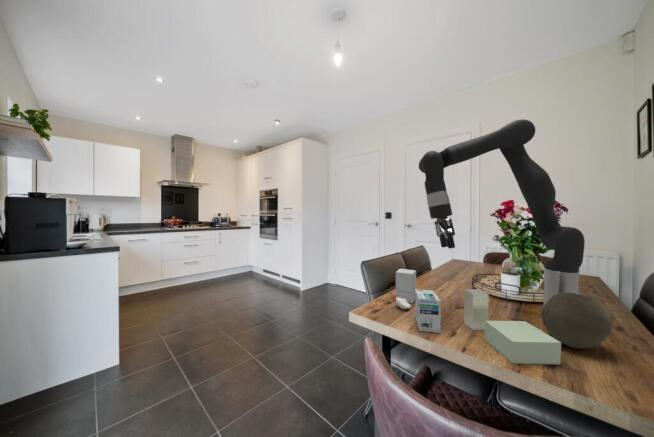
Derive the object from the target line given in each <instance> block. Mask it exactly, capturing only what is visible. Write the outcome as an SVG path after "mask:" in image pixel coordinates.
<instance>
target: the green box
mask: <svg viewBox="0 0 654 437" xmlns="http://www.w3.org/2000/svg"><path fill="white" fill-rule="evenodd" d="M483 338H484V340H485V341H486V342H487V343H489V345H490V346H492V347H493V348H494V350H496V351H498V353H500V354H501V355H502V356H503V357H504V358H506V359H507V361H509V362H510V363H511V364H517V365H518V364H519V365H520V364H521V365H523V364H525V365H561V360H562V359H561V358H562V357H561V356H562V342H560V341H558V340H556V339H555V338H554V337H552V336H551V335H550V334H549V333H545V332H544V331H542V330H541V329H539V328H537V327H536V326H535V325H532V324H530V323H529V322H528V321H525V320H523V321H522V320H488V321H485V330H484V337H483Z"/></svg>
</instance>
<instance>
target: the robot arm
mask: <svg viewBox="0 0 654 437" xmlns="http://www.w3.org/2000/svg"><path fill="white" fill-rule="evenodd" d="M535 134H536V126H535V125H534V123H533V122H532V121H530V120H529V119H516V120H514V121H511V122H510V123H507V124H506V125H504V126H502V127H501V128H499V129H497V130H495V131H492V132H490V133H487V134H484V135H481V136H478V137H475V138H472V139H468V140H466V141H462V142H459V143H456V144H453V145H450V146H448V147H446V148H444V149H443V150H442V151H439V152H438V151H436V150H430V151H428V152H426V153H425V154H424V155H423V156H422V157H421V159H420V160H419V162H418V169H419V171H420V172H422V173H423V174H424V175H425V180H424V190H425V193H426V202H427V206H428V211H429V216H430V219H431V220H432V219H435V220H436V221H434V227H435V231H436V236H437V237H438V238H439V241H440V246H441V248H448V249H455V248H456V245H455V238H454V236H455V235H456V232H455V228H454V224H453V220H452V218H451V217H450V216H453V210H452V207H451V206H452V205H451V200H450V197H449V194H448V192H447V187H446V182H445V177H444V176H445V173H444V171H445V168H447V167H451V166H453V165H457V164H460V163H464V162H466V161H470V160H472V159H474V158H477V157H479V156H482V155H484V154H487V153H489V152H493V151H495V150H500V152H501V153H502V156H503V157H504V159H505V161H506V162H507V164H508V166H509V168H510V170H511V172H512V174H513V176H514V178H515V181H516V182H517V185H518V188H519V190H520V193H521V195H522V197H523V199H524V200H525V202H526V205H527V207H528V209H529V211H530V212H529V213H530V214H531V216H532V218H533V221H534V224H535V227H536V230H537V231H536V232H537V235H538V236H539V240H540V242H541V243H542V245H543V246H544V247H545V248H546V249H549V250H551V251H554V253H553V257H552V258H549V259H547V260H545V261H544V270H543V272H544V275H543V276H544V278H543V301H542V302H543V307H544V305H545V304H546V302H547V301H548V300H549V299H550V298H551V297H552V296H554V295H556V294H559V293H575V294H579V295H582V294H581V292H579V284H580V283H579V281H580V278H579V276H580V267H581V266H582V264H583V262H584V261H583V260H584V253H585V244H586V243H585V237H584V234H583V233H582V231H581V230H580V229H578V228H576V227H573V226H572V227H571V226H562V225H561V224H560V222H559V220H558V218H557V216H556V212H555V202H556V196H557V192H556V188H555V185H554V183H553V182H552V179H551V177H550V175H549V173H548V172H547V171H546V170H545V169H544V168H543V167H541V166H540V165H539V164H538V163H536V161H535V160H534V159H532V158H531V156H530V155H529V154H528V152H527V150H526V148H525V146H524V145H527V143H529V142H530V141H532V139H533V138H534V137H535ZM448 217H450V218H448ZM543 307H542V308H543Z"/></svg>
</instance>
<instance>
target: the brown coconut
mask: <svg viewBox="0 0 654 437" xmlns="http://www.w3.org/2000/svg"><path fill="white" fill-rule="evenodd" d="M541 317H542V323H543V325H544V327H545V329H546V331H547V332H548V335H549V336H551V337H553V338H554V339H556V340H558V341H559V342H561V344H563V345H565V346H566V347H569V348H572V349H581V350H582V349H590V348H594V347H597V346H598V345H599V344H601V343H603V342H604V341H605V340H606V339H607V338H608V337H609V335H610V334H611V333H612V330H613V326H614V323H613V317H612V316H611V314H610V312H609V311H608V310H607V308H606V307H605V306H604V305H603V304H601V303H600V302H599V301H598V300H596V299H594V298H592V297H590V296H588V295H584V294H583V295H582V294H581V295H579V294H575V293H559V294H556V295H554V296H552V297H551V298H550V299H549V300H548V301H547V302H546V304H545V305H544V307H542V312H541Z"/></svg>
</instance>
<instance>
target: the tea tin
mask: <svg viewBox="0 0 654 437" xmlns="http://www.w3.org/2000/svg"><path fill="white" fill-rule="evenodd" d="M489 299H490V296H489V293H488V292H486V291H484V290H481V289H479V288H465V289H464V311H463V312H464V313H463V314H464V316H463V317H464V318H463V319H464V320H463V323H464V324H465V325H466V326H467V328H469V329H470V330H472V331H485V321H489Z"/></svg>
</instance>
